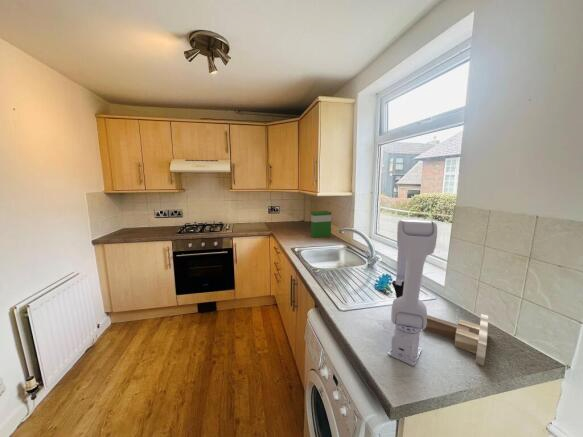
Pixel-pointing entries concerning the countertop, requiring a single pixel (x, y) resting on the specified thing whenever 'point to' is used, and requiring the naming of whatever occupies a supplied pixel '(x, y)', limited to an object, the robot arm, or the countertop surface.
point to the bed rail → (443, 327)
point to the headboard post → (473, 338)
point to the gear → (384, 282)
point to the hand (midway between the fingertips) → (402, 296)
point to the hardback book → (320, 224)
